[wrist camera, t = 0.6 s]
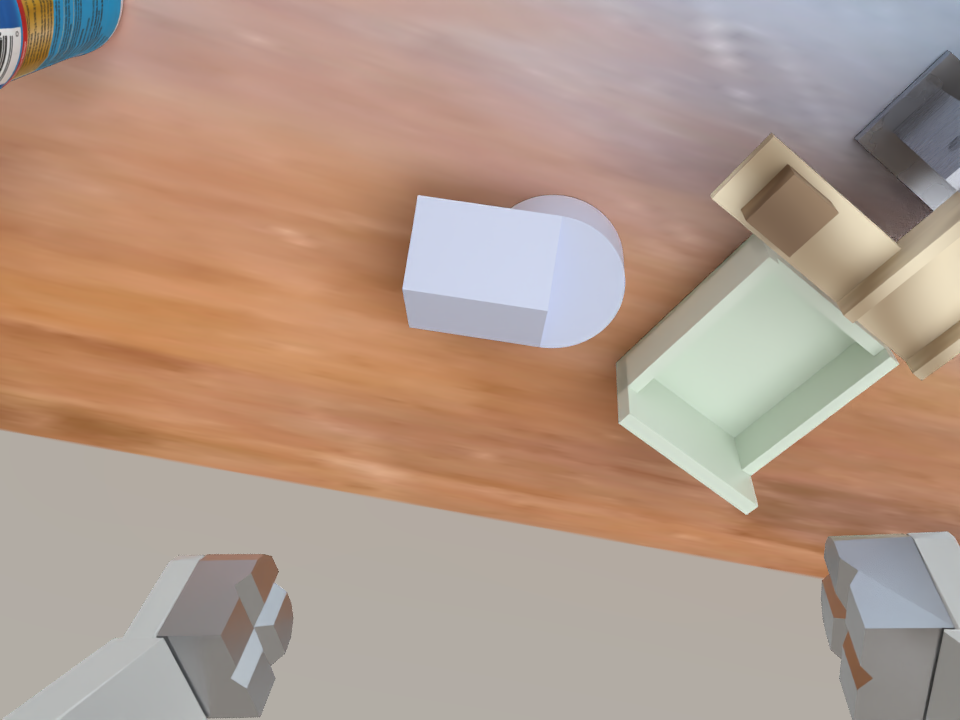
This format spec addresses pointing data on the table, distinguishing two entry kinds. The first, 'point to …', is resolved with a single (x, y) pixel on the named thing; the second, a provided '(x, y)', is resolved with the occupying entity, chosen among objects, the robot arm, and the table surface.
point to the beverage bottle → (51, 32)
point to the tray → (744, 371)
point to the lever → (856, 253)
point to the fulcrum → (922, 133)
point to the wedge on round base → (514, 270)
